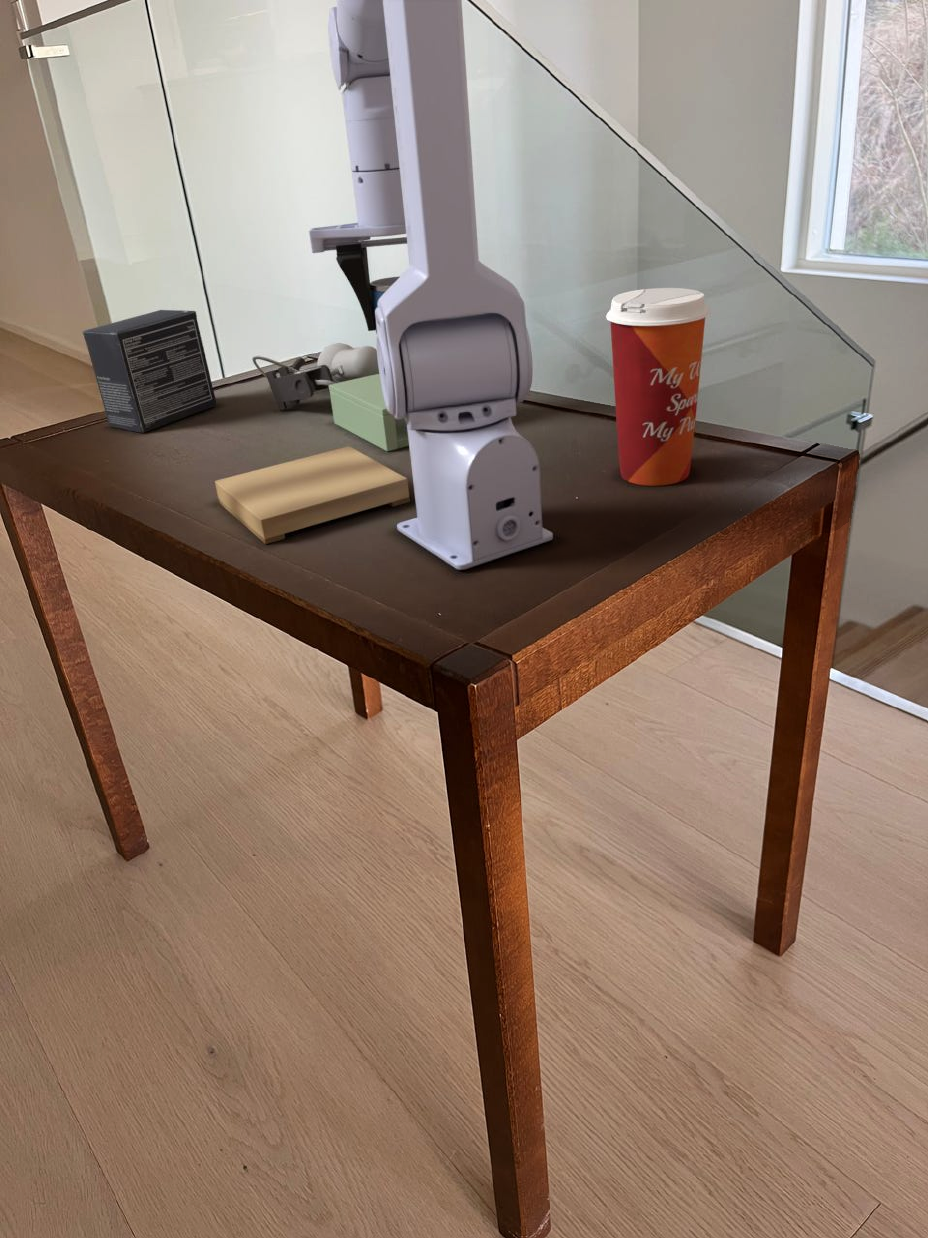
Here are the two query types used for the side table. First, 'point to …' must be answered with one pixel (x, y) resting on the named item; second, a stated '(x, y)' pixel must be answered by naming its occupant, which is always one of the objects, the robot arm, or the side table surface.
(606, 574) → the side table surface
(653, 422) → the paper cup
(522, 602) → the side table surface
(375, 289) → the can
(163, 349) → the small box
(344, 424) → the shelf stand
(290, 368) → the clip-on lamp
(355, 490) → the low shelf
